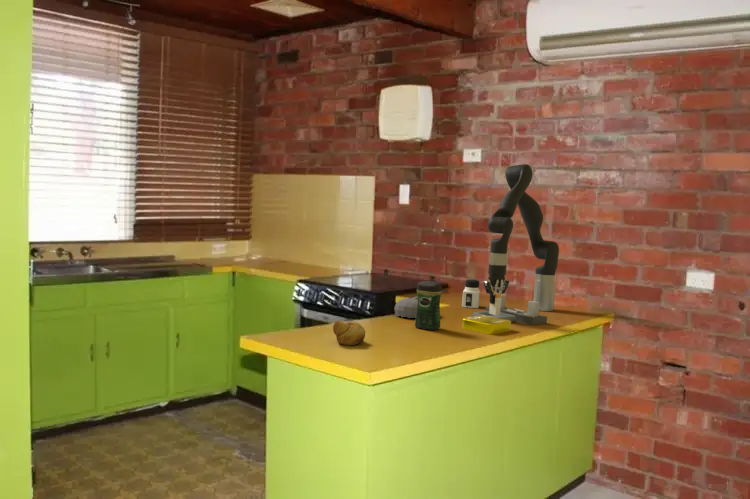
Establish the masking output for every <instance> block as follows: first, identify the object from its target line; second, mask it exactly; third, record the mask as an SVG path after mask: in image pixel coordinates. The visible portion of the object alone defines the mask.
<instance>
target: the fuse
mask: <svg viewBox="0 0 750 499" xmlns="http://www.w3.org/2000/svg"><path fill="white" fill-rule="evenodd" d="M526 312H527V314H530V315H534V317H538V315H539V314H540V313H539V312H540V310H539V302H535V301H533V300H529V301H528V302H527V311H526Z"/></svg>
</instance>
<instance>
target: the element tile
mask: <svg viewBox="0 0 750 499" xmlns="http://www.w3.org/2000/svg"><path fill="white" fill-rule="evenodd" d="M461 321H462V323H461V324H462V325H461V329H463V330H468V331H472V332H477V333H481V334H486V335H498V334H502V333H508V332H511V330H512V329H511V328H512V322H511V321H510V320H505V319H500V318H495V317H490V316H484V315H480V316H474V317H472V316H467V317H463V318H462V320H461Z"/></svg>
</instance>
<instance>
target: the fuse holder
mask: <svg viewBox="0 0 750 499" xmlns="http://www.w3.org/2000/svg"><path fill="white" fill-rule="evenodd" d="M489 308H490V305H489V306H488V305H487V306H486V307H485V311H489ZM500 312H501V313H506V314H510V315H514V316H516V322H519V323H523V324H528V325H533V326H534V325H535V326H536V325H543V324H544V325H545V324H546V325H547V322H548V316H546V315H542V314H540V313H539V315H538V317H534V315H530V314H527V312H528V311H525V310H521V309H518V308H512V307H509V306H506V305H505V309H501V307H500Z"/></svg>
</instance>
